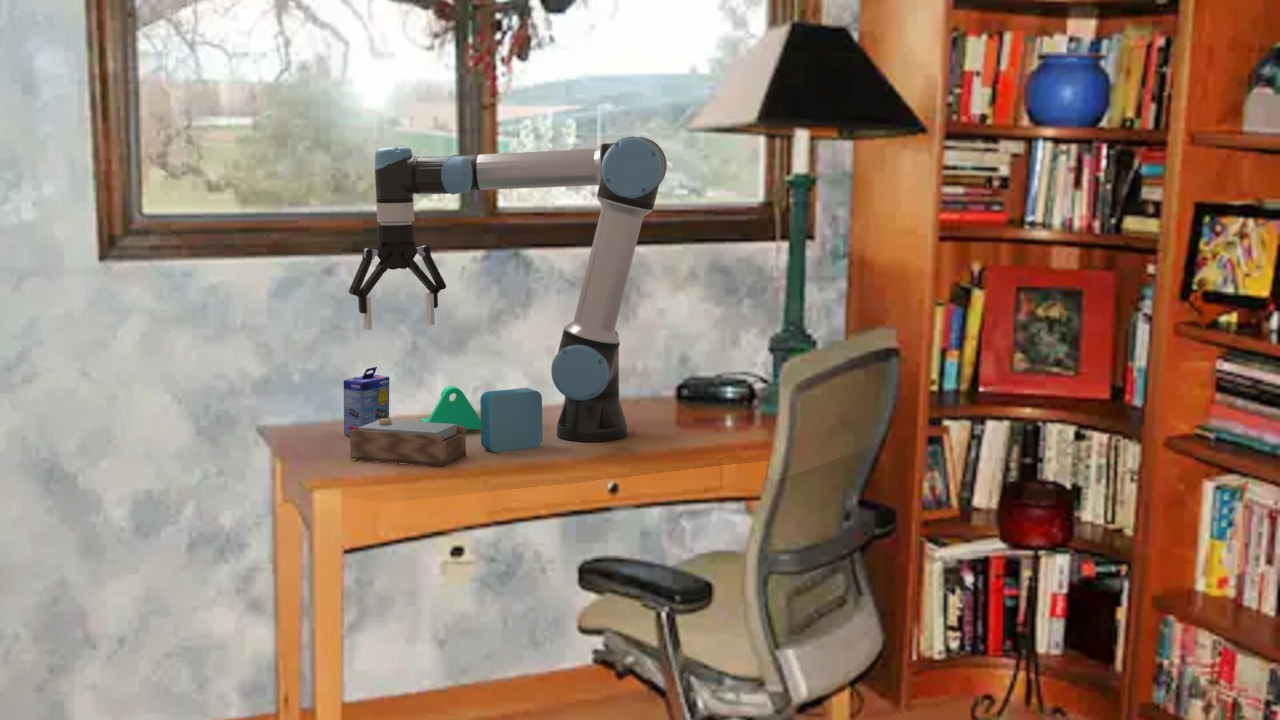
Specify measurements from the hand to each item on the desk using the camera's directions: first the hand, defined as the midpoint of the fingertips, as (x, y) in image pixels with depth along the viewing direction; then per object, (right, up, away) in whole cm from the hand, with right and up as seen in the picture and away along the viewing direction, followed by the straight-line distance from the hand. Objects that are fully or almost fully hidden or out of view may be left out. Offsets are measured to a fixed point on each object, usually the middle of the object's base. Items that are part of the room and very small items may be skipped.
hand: (399, 326), depth 317 cm
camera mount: (+8, -23, +18) cm, 30 cm away
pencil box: (+3, -26, -9) cm, 28 cm away
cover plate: (+3, -22, -10) cm, 24 cm away
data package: (+23, -25, 0) cm, 34 cm away
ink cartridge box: (-9, -23, +16) cm, 29 cm away
